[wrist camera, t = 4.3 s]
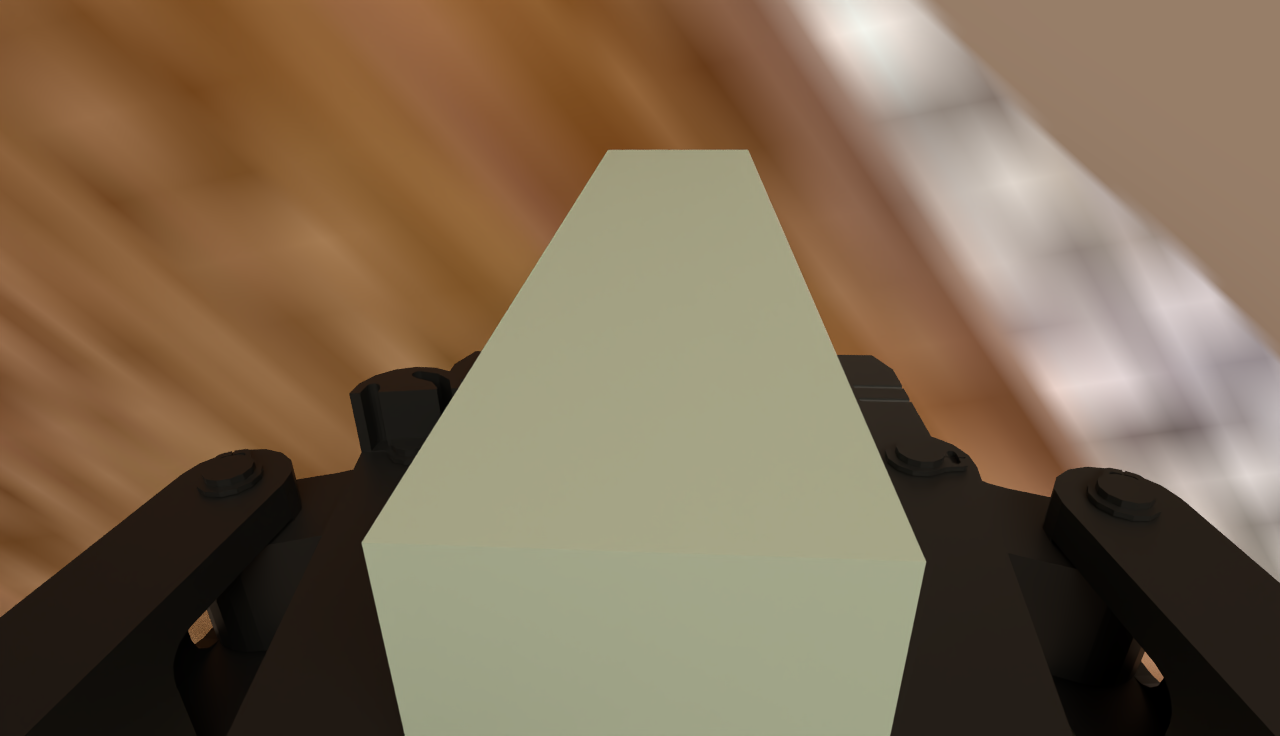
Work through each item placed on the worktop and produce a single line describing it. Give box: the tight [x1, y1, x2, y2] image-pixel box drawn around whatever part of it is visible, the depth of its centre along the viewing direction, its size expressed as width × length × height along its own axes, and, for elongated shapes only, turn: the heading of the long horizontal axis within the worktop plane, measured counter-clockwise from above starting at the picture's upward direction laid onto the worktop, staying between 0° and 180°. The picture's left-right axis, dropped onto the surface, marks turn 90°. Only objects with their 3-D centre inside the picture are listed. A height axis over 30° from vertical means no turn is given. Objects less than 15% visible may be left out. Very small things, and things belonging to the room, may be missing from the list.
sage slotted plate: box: [362, 150, 926, 736], centre depth 13 cm, size 16×3×13 cm, turn 0°
